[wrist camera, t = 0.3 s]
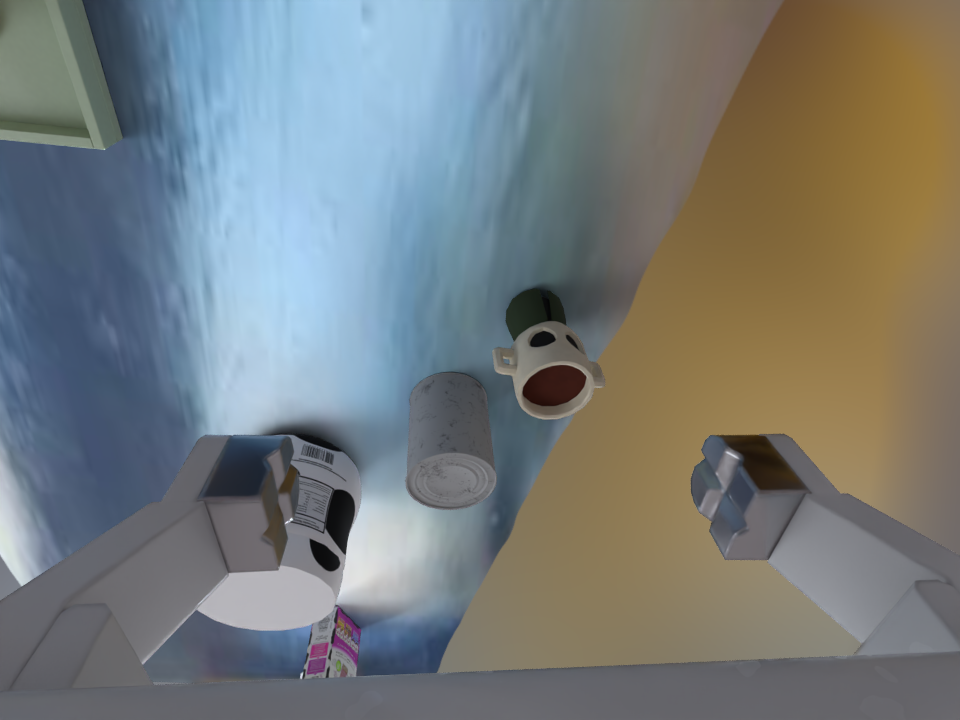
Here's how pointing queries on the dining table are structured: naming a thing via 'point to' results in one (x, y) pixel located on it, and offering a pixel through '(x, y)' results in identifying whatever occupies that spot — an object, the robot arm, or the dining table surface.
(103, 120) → the tray
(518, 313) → the character mug
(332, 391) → the dining table surface
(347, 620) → the candy bar box
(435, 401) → the grey tin can
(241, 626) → the milk container
